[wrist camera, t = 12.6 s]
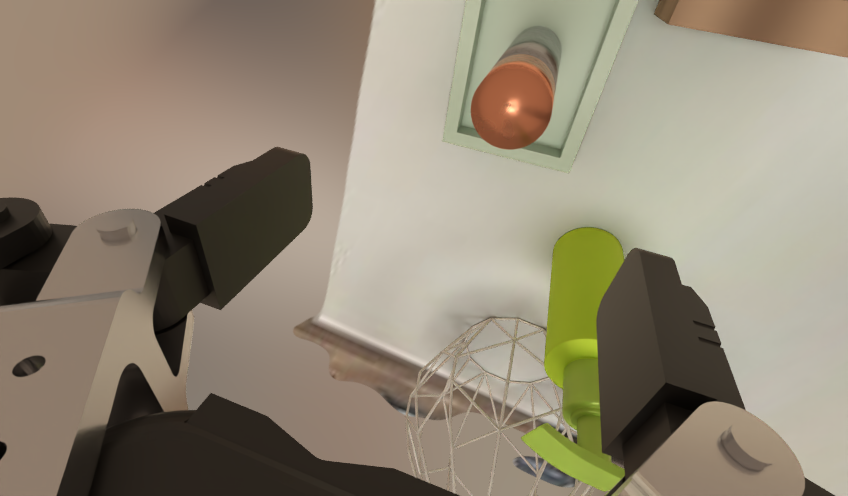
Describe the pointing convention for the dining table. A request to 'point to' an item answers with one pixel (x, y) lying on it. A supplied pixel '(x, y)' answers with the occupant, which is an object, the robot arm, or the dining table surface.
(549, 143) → the tray
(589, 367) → the soap dispenser
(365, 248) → the dining table surface
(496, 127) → the grey and copper cylinder
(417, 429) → the table lamp
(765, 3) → the hitch block
